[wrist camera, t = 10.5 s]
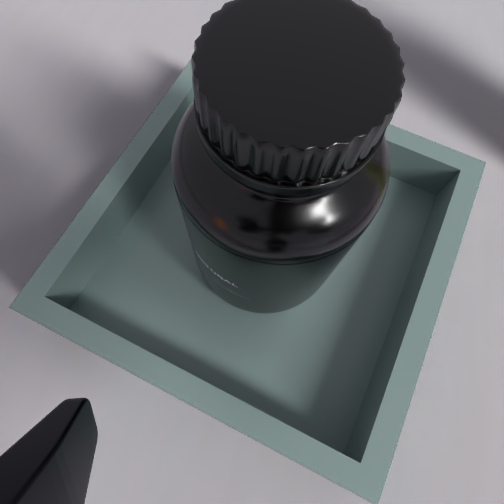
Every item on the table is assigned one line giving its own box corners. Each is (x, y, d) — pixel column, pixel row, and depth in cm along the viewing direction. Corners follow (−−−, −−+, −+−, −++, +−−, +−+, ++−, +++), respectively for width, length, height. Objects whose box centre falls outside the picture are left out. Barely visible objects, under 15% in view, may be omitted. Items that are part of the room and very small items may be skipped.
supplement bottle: (178, 298, 19) (85, 145, 7) (217, 179, 21) (190, -71, 10) (318, 333, 18) (441, 227, 7) (341, 208, 21) (460, -19, 9)
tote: (449, 197, 22) (485, 162, 19) (351, 485, 17) (377, 505, 14) (204, 95, 24) (198, 48, 21) (48, 323, 19) (9, 307, 16)
